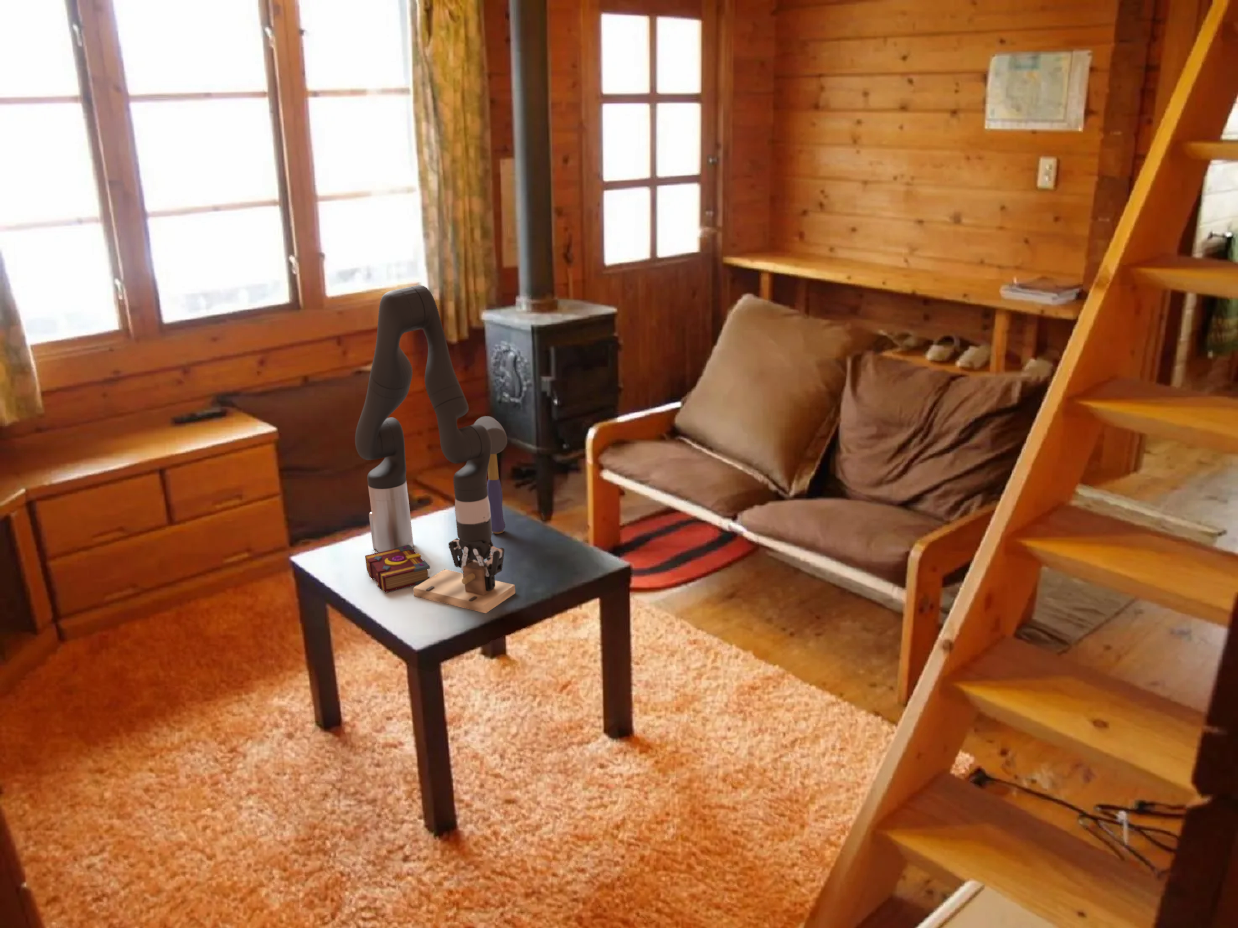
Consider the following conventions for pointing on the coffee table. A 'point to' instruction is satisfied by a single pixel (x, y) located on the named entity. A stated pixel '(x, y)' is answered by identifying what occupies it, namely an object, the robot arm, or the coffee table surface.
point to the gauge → (474, 578)
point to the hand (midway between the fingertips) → (479, 587)
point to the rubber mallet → (494, 471)
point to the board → (461, 592)
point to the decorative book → (397, 568)
